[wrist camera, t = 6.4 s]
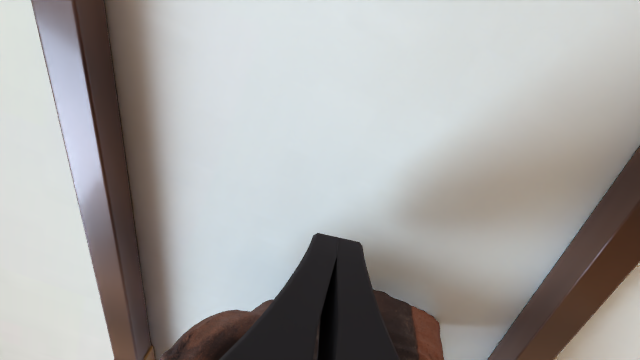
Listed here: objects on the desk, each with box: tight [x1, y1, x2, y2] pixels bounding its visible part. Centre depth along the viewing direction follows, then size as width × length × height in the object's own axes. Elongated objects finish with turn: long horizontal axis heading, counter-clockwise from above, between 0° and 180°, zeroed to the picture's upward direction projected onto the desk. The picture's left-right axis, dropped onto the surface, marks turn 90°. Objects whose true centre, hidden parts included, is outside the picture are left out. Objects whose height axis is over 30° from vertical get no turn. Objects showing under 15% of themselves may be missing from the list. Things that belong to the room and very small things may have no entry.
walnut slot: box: [31, 0, 640, 360], centre depth 14 cm, size 20×18×1 cm
